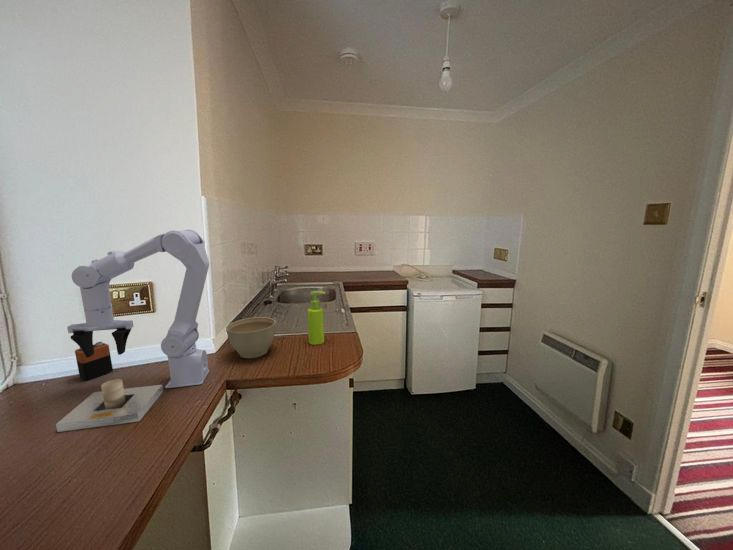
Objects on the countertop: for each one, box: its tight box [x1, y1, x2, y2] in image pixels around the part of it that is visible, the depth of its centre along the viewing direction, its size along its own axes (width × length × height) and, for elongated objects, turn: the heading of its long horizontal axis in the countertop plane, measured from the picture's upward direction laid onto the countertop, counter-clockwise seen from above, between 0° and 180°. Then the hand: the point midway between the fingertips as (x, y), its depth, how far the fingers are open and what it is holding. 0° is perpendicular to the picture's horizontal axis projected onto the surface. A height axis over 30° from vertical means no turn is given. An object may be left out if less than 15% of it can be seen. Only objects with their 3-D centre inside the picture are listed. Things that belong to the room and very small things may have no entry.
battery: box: [74, 341, 114, 382], centre depth 91 cm, size 4×7×10 cm, turn 153°
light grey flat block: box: [55, 384, 164, 433], centre depth 74 cm, size 16×13×2 cm
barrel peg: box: [100, 378, 126, 410], centre depth 74 cm, size 4×4×7 cm
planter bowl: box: [225, 316, 276, 359], centre depth 105 cm, size 16×16×11 cm
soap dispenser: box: [307, 290, 326, 346], centre depth 114 cm, size 6×7×20 cm
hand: (106, 354), depth 84 cm, fingers open, 7 cm apart
